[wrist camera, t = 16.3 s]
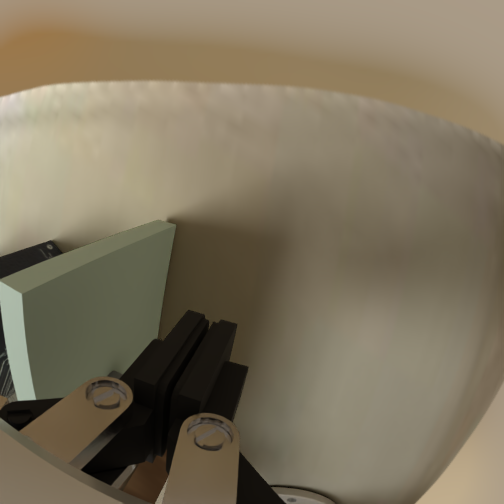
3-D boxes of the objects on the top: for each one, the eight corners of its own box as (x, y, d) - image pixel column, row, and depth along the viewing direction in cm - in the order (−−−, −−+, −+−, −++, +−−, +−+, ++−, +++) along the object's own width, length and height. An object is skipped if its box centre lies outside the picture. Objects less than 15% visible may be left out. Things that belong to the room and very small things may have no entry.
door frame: (183, 444, 24) (119, 572, 10) (167, 456, 25) (105, 572, 11) (-10, 255, 23) (-123, 301, 10) (-15, 277, 24) (-119, 325, 11)
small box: (49, 233, 21) (-60, 270, 11) (102, 295, 22) (-1, 364, 12) (14, 312, 24) (-65, 358, 14) (56, 364, 25) (-17, 425, 14)
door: (161, 443, 24) (102, 547, 12) (135, 432, 24) (69, 529, 12) (198, 230, 19) (55, 312, 7) (158, 219, 19) (-2, 280, 7)
